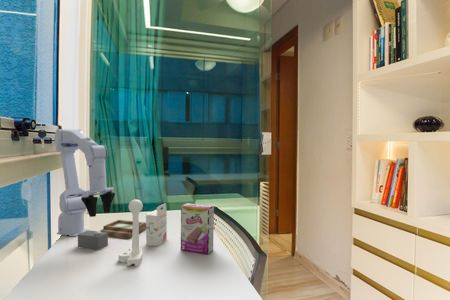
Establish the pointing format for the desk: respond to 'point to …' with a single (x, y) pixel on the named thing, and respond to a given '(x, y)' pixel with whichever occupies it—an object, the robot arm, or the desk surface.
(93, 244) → the housing
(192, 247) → the candy bar box
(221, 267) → the desk surface
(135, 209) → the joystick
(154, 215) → the ink cartridge box
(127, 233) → the stand
